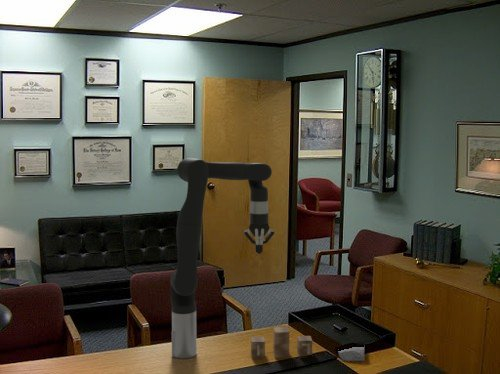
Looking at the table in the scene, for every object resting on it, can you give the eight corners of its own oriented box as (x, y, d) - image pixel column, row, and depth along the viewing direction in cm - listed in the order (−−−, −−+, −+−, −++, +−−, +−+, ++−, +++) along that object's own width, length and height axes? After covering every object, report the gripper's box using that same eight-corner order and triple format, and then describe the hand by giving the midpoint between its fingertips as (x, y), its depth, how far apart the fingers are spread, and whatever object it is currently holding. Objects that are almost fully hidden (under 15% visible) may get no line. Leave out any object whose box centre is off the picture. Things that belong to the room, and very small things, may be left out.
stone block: (339, 365, 216) (366, 362, 214) (337, 352, 215) (364, 349, 214) (340, 354, 227) (365, 351, 225) (338, 342, 227) (363, 339, 225)
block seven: (299, 357, 218) (299, 341, 217) (297, 352, 223) (297, 336, 223) (312, 357, 218) (312, 340, 218) (310, 352, 223) (310, 335, 223)
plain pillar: (274, 358, 217) (274, 332, 216) (273, 352, 223) (273, 327, 222) (289, 357, 218) (289, 332, 217) (287, 352, 223) (287, 327, 222)
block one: (251, 358, 217) (251, 342, 216) (250, 353, 222) (250, 337, 221) (264, 358, 217) (265, 341, 216) (263, 353, 222) (263, 336, 222)
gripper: (243, 213, 231) (243, 255, 233) (276, 213, 232) (276, 255, 234) (242, 210, 239) (242, 251, 240) (274, 210, 239) (274, 251, 241)
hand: (259, 253), depth 237 cm, fingers closed
